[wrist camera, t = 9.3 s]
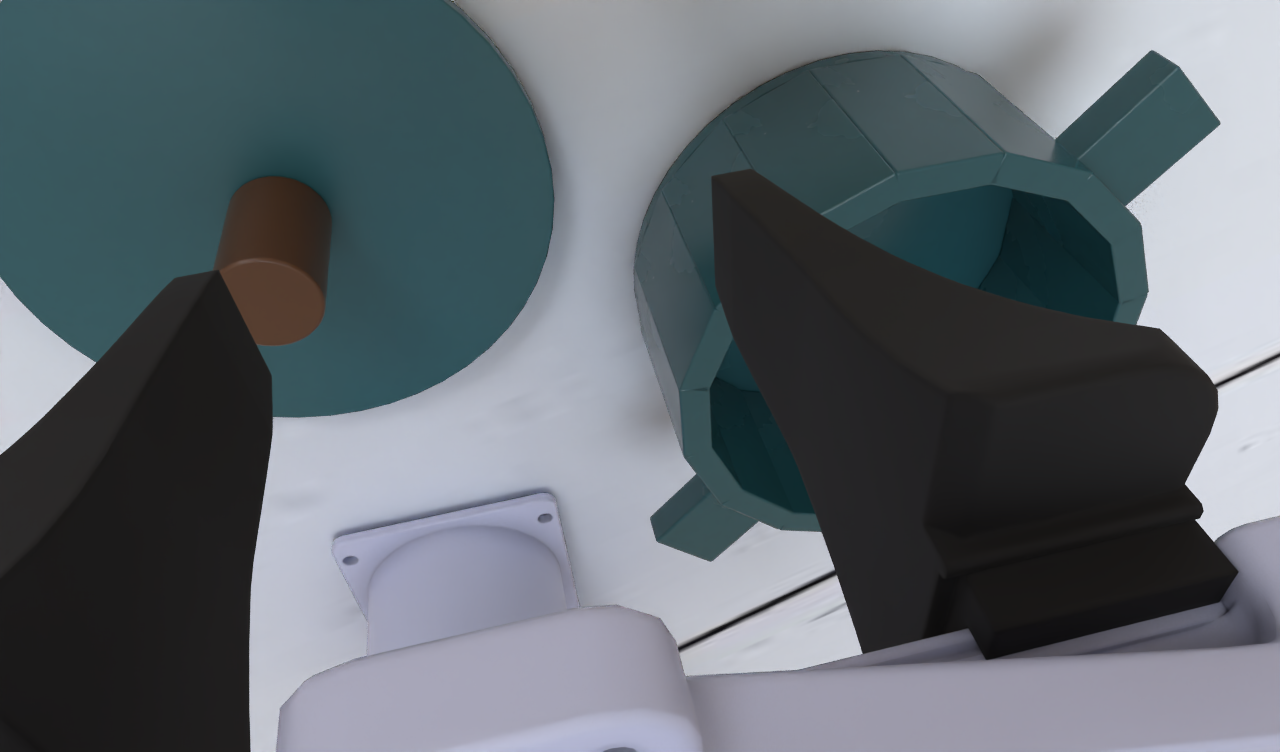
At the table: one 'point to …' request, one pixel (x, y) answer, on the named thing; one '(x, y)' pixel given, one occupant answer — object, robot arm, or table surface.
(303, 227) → the lid
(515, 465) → the table surface
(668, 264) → the pot
